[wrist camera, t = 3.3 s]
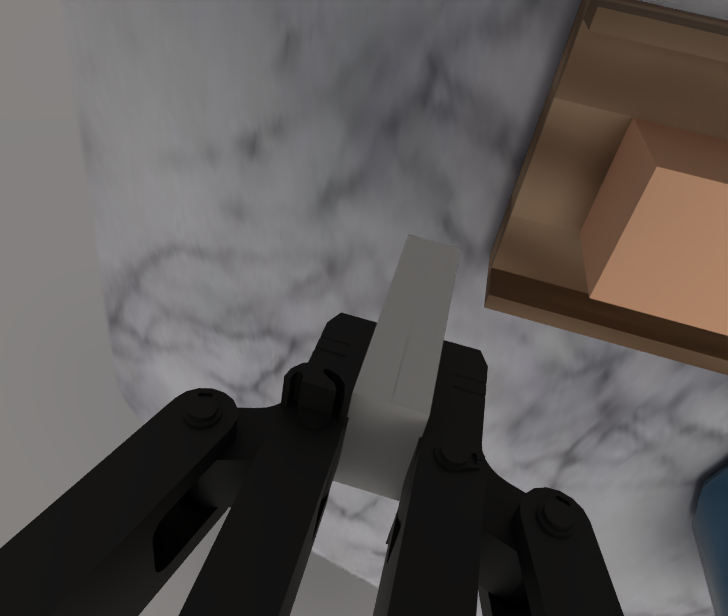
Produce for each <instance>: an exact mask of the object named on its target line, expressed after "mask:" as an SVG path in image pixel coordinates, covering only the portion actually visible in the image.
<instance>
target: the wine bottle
mask: <svg viewBox="0 0 728 616" xmlns="http://www.w3.org/2000/svg"><path fill="white" fill-rule="evenodd" d="M692 529H693V533H694V536H695V540H696V544H697V548H698V552H699V556H700V559H701V563H702V567H703V571H704V575H705V578H706V582H707V586H708V590H709V594H710V598H711V601H712V605H713V609H714V613H715V616H728V464H727V465H726V466H724V467H723V468H721V469H720V470H719V471H717V472H716V473H715V474H713V475H712V476H710V477H709V478H708V479H706V480H705V481H704V483H703V487H702V490H701V494H700V497H699V501H698V504H697V508H696V511H695V515H694V518H693V522H692Z"/></svg>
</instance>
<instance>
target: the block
mask: <svg viewBox="0 0 728 616" xmlns="http://www.w3.org/2000/svg"><path fill="white" fill-rule="evenodd" d="M580 240H581V246H582V253H583V259H584V266H585V273H586V279H587V286H588V292H589V298H591V299H595V300H599V301H602V302H606V303H610V304H613V305H617V306H621V307H624V308H628V309H632V310H635V311H639V312H643V313H646V314H650V315H654V316H657V317H661V318H665V319H668V320H672V321H676V322H679V323H683V324H687V325H690V326H694V327H698V328H701V329H705V330H709V331H712V332H716V333H720V334H723V335H727V336H728V140H725V139H721V138H717V137H713V136H709V135H705V134H700V133H696V132H692V131H688V130H684V129H680V128H676V127H672V126H668V125H664V124H659V123H655V122H651V121H647V120H643V119H639V118H635V117H633V118H632V120H631V122H630V124H629V127H628V129H627V131H626V133H625V135H624V138H623V140H622V142H621V144H620V146H619V148H618V151H617V153H616V155H615V157H614V159H613V161H612V164H611V166H610V168H609V170H608V172H607V174H606V177H605V179H604V181H603V183H602V185H601V187H600V190H599V192H598V194H597V196H596V198H595V200H594V203H593V205H592V207H591V209H590V211H589V214H588V216H587V218H586V220H585V222H584V224H583V227H582V229H581V231H580Z"/></svg>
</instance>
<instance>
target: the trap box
mask: <svg viewBox="0 0 728 616" xmlns="http://www.w3.org/2000/svg"><path fill="white" fill-rule="evenodd" d="M633 117H635V118H639V119H643V120H647V121H651V122H655V123H659V124H664V125H668V126H672V127H676V128H680V129H684V130H688V131H692V132H696V133H700V134H705V135H709V136H713V137H717V138H721V139H725V140H728V21H726V20H721V19H717V18H712V17H708V16H703V15H699V14H695V13H690V12H686V11H681V10H677V9H673V8H668V7H664V6H659V5H655V4H650V3H646V2H642V1H637V0H582V2H581V4H580V7H579V10H578V13H577V15H576V18H575V21H574V24H573V27H572V29H571V32H570V35H569V38H568V40H567V43H566V46H565V49H564V51H563V54H562V57H561V60H560V63H559V65H558V68H557V71H556V74H555V76H554V79H553V82H552V85H551V88H550V90H549V93H548V96H547V99H546V101H545V104H544V107H543V110H542V113H541V115H540V118H539V121H538V124H537V126H536V129H535V132H534V135H533V137H532V140H531V143H530V146H529V149H528V151H527V154H526V157H525V160H524V162H523V165H522V168H521V171H520V174H519V176H518V179H517V182H516V185H515V187H514V190H513V193H512V196H511V199H510V201H509V204H508V207H507V210H506V212H505V215H504V218H503V221H502V224H501V226H500V229H499V232H498V235H497V237H496V240H495V243H494V246H493V248H492V251H491V254H490V259H489V268H488V277H487V286H486V295H485V304H484V307H485V308H489V309H492V310H496V311H499V312H503V313H507V314H510V315H514V316H517V317H521V318H525V319H528V320H532V321H535V322H539V323H543V324H546V325H550V326H553V327H557V328H561V329H564V330H568V331H571V332H575V333H578V334H582V335H586V336H589V337H593V338H596V339H600V340H604V341H607V342H611V343H614V344H618V345H622V346H625V347H629V348H632V349H636V350H640V351H643V352H647V353H650V354H654V355H657V356H661V357H665V358H668V359H672V360H675V361H679V362H683V363H686V364H690V365H693V366H697V367H701V368H704V369H708V370H711V371H715V372H718V373H722V374H726V375H728V336H727V335H723V334H720V333H716V332H712V331H709V330H705V329H701V328H698V327H694V326H690V325H687V324H683V323H679V322H676V321H672V320H668V319H665V318H661V317H657V316H654V315H650V314H646V313H643V312H639V311H635V310H632V309H628V308H624V307H621V306H617V305H613V304H610V303H606V302H602V301H599V300H595V299H591V298H589V292H588V286H587V279H586V273H585V266H584V259H583V253H582V246H581V240H580V231H581V229H582V227H583V224H584V222H585V220H586V218H587V216H588V214H589V211H590V209H591V207H592V205H593V203H594V200H595V198H596V196H597V194H598V192H599V190H600V187H601V185H602V183H603V181H604V179H605V177H606V174H607V172H608V170H609V168H610V166H611V164H612V161H613V159H614V157H615V155H616V153H617V151H618V148H619V146H620V144H621V142H622V140H623V138H624V135H625V133H626V131H627V129H628V127H629V124H630V122H631V120H632V118H633Z"/></svg>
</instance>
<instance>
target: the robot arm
mask: <svg viewBox="0 0 728 616" xmlns="http://www.w3.org/2000/svg"><path fill="white" fill-rule="evenodd" d="M459 255H460V248H457V247H453V246H449V245H446V244H442V243H438V242H434V241H431V240H427V239H423V238H419V237H416V236H412V235H408V238H407V241H406V244H405V246H404V249H403V252H402V255H401V258H400V261H399V263H398V266H397V269H396V272H395V275H394V277H393V280H392V283H391V286H390V289H389V291H388V294H387V297H386V300H385V303H384V306H383V308H382V311H381V314H380V317H379V320H378V322H377V323H376V322H373V321H369V320H366V319H362V318H359V317H355V316H352V315H348V314H345V313H340V314H338V315H337V316H336V317H334V318H333V319H331V320H330V321H329V322H327V324H326V326H325V328H324V330H323V332H322V335H321V337H320V339H319V341H318V343H317V345H316V347H315V350H314V351H313V353H312V356H311V358H310V360H309V362H308V363H301V364H299V365H297V366H295V367H293V368H291V369H290V370H289V371H288V373H287V374H286V375H285V376H284V383H283V391H282V399H281V403H279V404H277V405H275V406H271V407H267V408H237V406H236V404H235V402H234V400H233V399H232V398H231V397H229V396H228V395H227V394H226V393H224V392H221V391H218V390H215V389H210V388H198V389H194V390H190V391H186V392H184V393H183V394H181V395H179V396H178V397H176V398H175V399H173V400H172V401H171V402H170V403H169V404H168V405H166V406H165V407H164V408H163V409H162V410H161V411H159V412H158V413H157V414H156V415H155V416H154V417H152V418H151V419H150V420H149V421H148V422H147V423H146V424H144V425H143V426H142V427H141V428H140V429H139V430H137V431H136V432H135V433H134V434H133V435H132V436H131V437H130V438H128V439H127V440H126V441H125V442H123V443H122V444H121V445H120V446H119V447H118V448H116V449H115V450H114V451H113V452H112V453H111V454H110V455H108V456H107V457H106V458H105V459H104V460H103V461H101V462H100V463H99V464H98V465H97V466H96V467H94V468H93V469H92V470H91V471H90V472H89V473H87V474H86V475H85V476H84V477H83V478H82V479H80V481H78V482H77V483H76V484H75V485H73V486H72V487H71V488H70V489H69V490H68V491H66V492H65V493H64V494H63V495H62V496H61V497H59V498H58V499H57V500H56V501H55V502H54V503H53V504H51V505H50V506H49V507H48V508H47V509H46V510H44V511H43V512H42V513H41V514H40V515H39V516H37V517H36V518H35V519H34V520H33V521H32V522H30V523H29V524H28V525H27V526H26V527H25V528H23V529H22V530H21V531H20V532H19V533H18V534H16V535H15V536H14V537H13V538H12V539H11V540H10V541H8V542H7V543H6V544H5V545H4V546H3V547H1V548H0V616H138V615H139V614H140V613H141V612H142V611H143V610H144V608H145V607H146V606H147V605H148V604H149V602H150V601H151V600H152V599H153V598H154V596H155V595H156V594H157V593H158V592H159V590H160V589H161V588H162V587H163V585H164V584H165V583H166V582H167V581H168V580H169V578H170V577H171V576H172V575H173V574H174V572H175V571H176V570H177V569H178V568H179V567H180V565H181V564H182V563H183V562H184V560H185V559H186V558H187V557H188V556H189V554H190V553H191V552H192V551H193V550H194V548H195V547H196V546H197V545H198V544H199V543H200V541H201V540H202V539H203V538H204V537H205V536H206V534H207V533H208V532H209V531H210V529H211V528H212V527H213V526H214V525H215V524H216V522H217V521H218V520H219V519H220V518H221V516H222V515H223V514H224V513H225V512H226V510H227V509H228V507H231V509H230V511H229V513H228V515H227V517H226V519H225V521H224V523H223V526H222V528H221V530H220V532H219V534H218V536H217V538H216V540H215V542H214V544H213V546H212V548H211V550H210V552H209V554H208V556H207V559H206V560H205V563H204V565H203V567H202V569H201V571H200V573H199V575H198V577H197V579H196V581H195V583H194V585H193V587H192V589H191V591H190V593H189V595H188V598H187V599H186V602H185V604H184V606H183V608H182V610H181V612H180V614H179V616H290V613H291V610H292V607H293V604H294V601H295V598H296V595H297V592H298V589H299V586H300V583H301V580H302V577H303V574H304V571H305V568H306V565H307V561H308V558H309V555H310V552H311V549H312V546H313V543H314V540H315V537H316V534H317V531H318V528H319V525H320V522H321V519H322V516H323V513H324V510H325V507H326V504H327V500H328V495H329V491H330V487H331V484H332V481H336V482H339V483H343V484H346V485H349V486H352V487H356V488H359V489H362V490H365V491H369V492H372V493H375V494H378V495H382V496H385V497H388V498H391V499H395V500H398V501H399V500H400V502H399V507H398V511H397V513H396V516H395V519H394V522H393V525H392V527H391V530H390V533H389V536H388V539H387V541H386V544H388V548H387V553H386V558H385V562H384V567H383V571H382V576H381V581H380V585H379V590H378V594H377V599H376V604H375V608H374V613H373V616H476V611H477V597H478V591H479V597H480V603H481V609H482V615H483V616H624V615H623V612H622V609H621V606H620V603H619V601H618V598H617V595H616V592H615V590H614V587H613V584H612V581H611V578H610V576H609V573H608V570H607V567H606V564H605V562H604V559H603V556H602V553H601V550H600V548H599V545H598V542H597V539H596V537H595V534H594V531H593V528H592V525H591V523H590V521H589V519H588V517H587V515H586V513H585V512H584V510H583V509H582V508H581V507H580V506H579V505H578V504H577V503H576V502H575V501H574V500H573V499H572V498H571V497H569V496H567V495H566V494H564V493H562V492H561V491H558V490H554V489H551V488H547V487H544V488H534V489H532V490H531V491H529V492H527V493H525V492H523V491H521V490H520V489H518V488H516V487H515V486H513V485H511V484H510V483H508V482H507V481H505V480H504V479H502V478H501V477H500V476H498V475H497V474H496V473H495V472H494V470H493V469H492V468H491V467H490V466H489V464H488V463H487V461H486V459H485V456H484V454H483V451H482V434H483V421H484V408H485V395H486V382H487V370H488V366H487V364H486V362H485V359H484V357H483V355H482V353H481V351H480V350H477V349H473V348H470V347H466V346H463V345H459V344H456V343H452V342H449V341H445V340H444V335H445V330H446V324H447V319H448V314H449V308H450V303H451V298H452V292H453V287H454V282H455V276H456V271H457V266H458V260H459ZM400 497H401V498H400Z"/></svg>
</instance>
